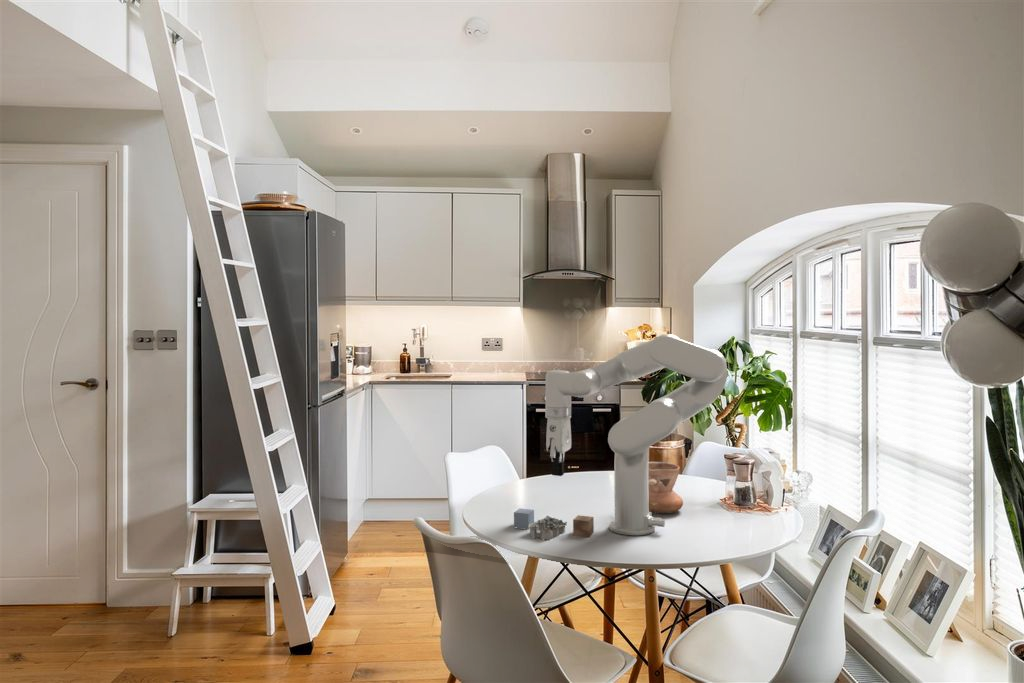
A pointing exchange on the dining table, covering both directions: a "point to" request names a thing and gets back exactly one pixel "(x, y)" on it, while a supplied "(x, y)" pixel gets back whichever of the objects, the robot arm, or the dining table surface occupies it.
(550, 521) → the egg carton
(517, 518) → the slate-blue block
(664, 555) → the dining table surface
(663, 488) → the ceramic jug
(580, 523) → the walnut block
